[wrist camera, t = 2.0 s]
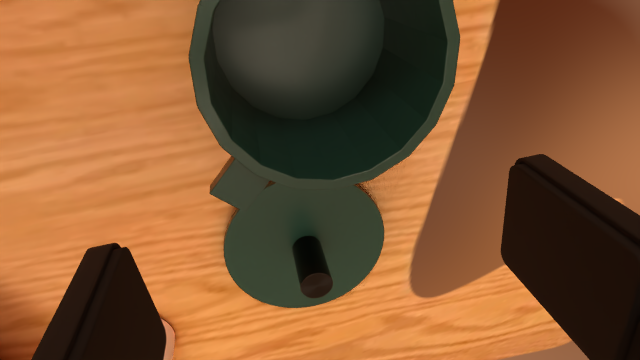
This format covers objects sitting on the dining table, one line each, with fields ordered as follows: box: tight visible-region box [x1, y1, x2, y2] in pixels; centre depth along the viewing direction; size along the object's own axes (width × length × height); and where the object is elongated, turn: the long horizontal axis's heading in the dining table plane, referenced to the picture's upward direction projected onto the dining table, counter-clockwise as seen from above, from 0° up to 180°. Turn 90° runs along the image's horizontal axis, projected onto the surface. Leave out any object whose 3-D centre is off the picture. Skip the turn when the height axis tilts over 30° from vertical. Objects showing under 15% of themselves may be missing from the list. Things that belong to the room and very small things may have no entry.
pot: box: [189, 0, 460, 212], centre depth 25 cm, size 13×19×10 cm
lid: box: [224, 181, 384, 308], centre depth 35 cm, size 14×14×6 cm
